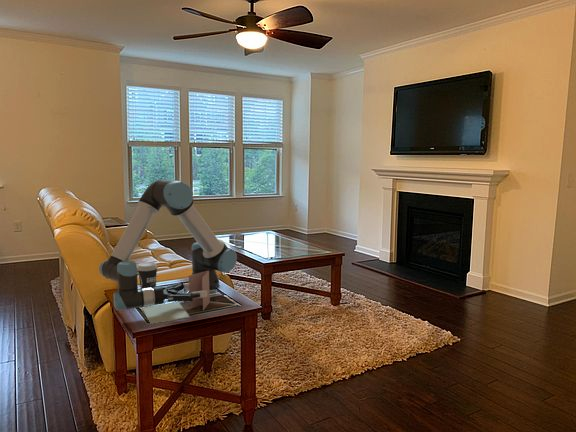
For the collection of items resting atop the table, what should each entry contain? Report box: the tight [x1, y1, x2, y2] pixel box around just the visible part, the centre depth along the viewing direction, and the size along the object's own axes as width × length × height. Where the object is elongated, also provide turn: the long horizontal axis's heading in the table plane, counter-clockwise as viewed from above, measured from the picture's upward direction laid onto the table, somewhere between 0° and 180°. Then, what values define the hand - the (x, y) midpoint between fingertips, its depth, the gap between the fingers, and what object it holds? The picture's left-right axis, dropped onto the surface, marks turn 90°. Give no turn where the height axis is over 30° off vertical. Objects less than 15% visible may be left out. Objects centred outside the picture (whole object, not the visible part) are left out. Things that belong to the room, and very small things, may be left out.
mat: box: [141, 301, 191, 325], centre depth 191 cm, size 20×16×1 cm
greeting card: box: [188, 270, 211, 311], centre depth 197 cm, size 11×7×15 cm, turn 141°
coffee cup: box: [137, 261, 159, 289], centre depth 214 cm, size 10×10×15 cm
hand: (202, 288), depth 197 cm, fingers open, 13 cm apart
